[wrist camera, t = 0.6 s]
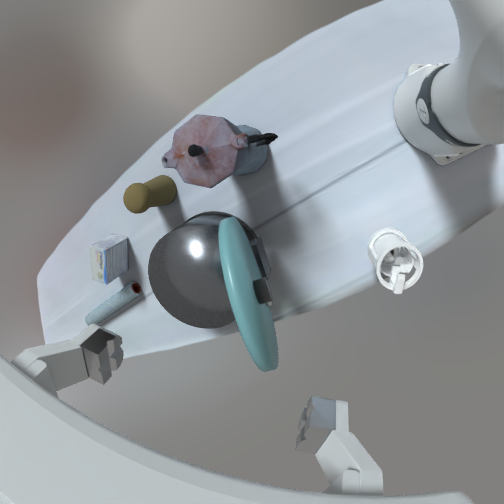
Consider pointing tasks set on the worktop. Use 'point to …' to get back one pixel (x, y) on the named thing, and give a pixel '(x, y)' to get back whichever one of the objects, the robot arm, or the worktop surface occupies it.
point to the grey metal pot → (197, 271)
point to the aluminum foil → (114, 303)
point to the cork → (150, 194)
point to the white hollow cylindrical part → (394, 259)
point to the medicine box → (109, 258)
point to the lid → (248, 294)
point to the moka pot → (216, 150)
